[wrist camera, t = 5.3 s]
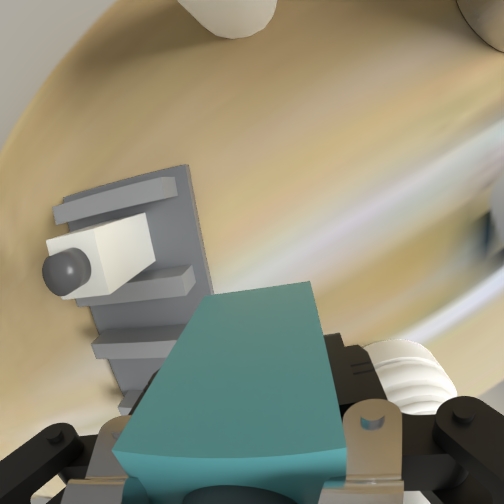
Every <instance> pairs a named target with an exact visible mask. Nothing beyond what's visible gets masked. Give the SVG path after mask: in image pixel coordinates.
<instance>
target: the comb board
mask: <svg viewBox="0 0 504 504" xmlns="http://www.w3.org/2000/svg"><path fill="white" fill-rule="evenodd" d="M63 201H64V204H61V205H58V206H54V207H53V213H54V218H55V223H56V225H59V224H62V223H66V222H68V226H69V231H70V232H73V231H76V230H79V229H82V228H85V227H88V226H92V225H95V224H98V223H101V222H105V221H109V220H113V219H118V218H122V217H126V216H131V215H135V214H140V213H145V214H146V219H147V224H148V228H149V233H150V238H151V242H152V247H153V251H154V255H155V260H156V261H155V262H153V263H152V264H150V265H149V266H148V267H146V268H145V269H144V270H142V271H141V272H140V273H138V274H137V275H135V276H134V277H133V278H131V279H130V280H129V281H127V282H126V283H125V284H123V285H122V286H121V287H119V288H118V289H117V290H115V291H114V292H113V293H111V294H110V295H102V296H93V297H84V298H75V300H76V303H77V306H78V307H84V306H90V309H91V312H92V315H93V318H94V321H95V324H96V327H97V330H98V333H99V337H98V338H97V339H96V340H94V341H93V342H92V343H91V346H92V349H93V352H94V354H95V357H96V359H108V360H109V362H110V365H111V367H112V370H113V372H114V375H115V377H116V380H117V382H118V384H119V387H120V389H121V391H122V394H123V396H124V398H123V400H122V401H121V403H120V404H119V406H118V409H119V412H120V414H121V416H123V415H128V414H129V412H130V411H131V409H132V407H133V406H134V404H135V402H136V401H137V399H138V398H139V396H140V394H141V393H142V392H143V389H144V388H145V386H146V385H148V381H149V380H150V378H151V377H152V375H153V373H155V372H156V371H157V370H159V369H160V368H161V366H162V365H163V363H164V361H165V360H166V358H167V356H168V355H169V353H170V351H171V350H172V348H173V347H174V345H175V343H176V342H177V340H178V338H179V337H180V335H181V333H182V332H183V330H184V329H185V327H186V325H187V324H188V322H189V320H190V319H191V317H192V316H193V314H194V312H195V311H196V309H197V307H198V306H199V304H200V303H201V301H202V299H203V298H204V296H207V295H214V291H213V286H212V282H211V277H210V272H209V268H208V263H207V258H206V253H205V248H204V244H203V239H202V234H201V228H200V223H199V218H198V213H197V208H196V202H195V197H194V192H193V186H192V181H191V175H190V170H189V165H186V164H185V165H180V166H176V167H172V168H167V169H163V170H159V171H155V172H151V173H147V174H143V175H139V176H135V177H132V178H128V179H124V180H120V181H117V182H113V183H110V184H106V185H103V186H99V187H96V188H92V189H89V190H86V191H82V192H79V193H76V194H73V195H70V196H66V197H63Z"/></svg>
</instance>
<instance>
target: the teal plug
mask: <svg viewBox="0 0 504 504" xmlns="http://www.w3.org/2000/svg"><path fill="white" fill-rule="evenodd" d="M112 452H113V453H114V455H115V457H116V458H117V460H118V461H119V463H120V464H121V466H122V468H123V469H124V471H125V472H126V474H127V475H128V476H130V477H138V479H139V480H140V482H141V483H142V485H143V486H144V488H145V489H146V491H147V495H148V499H149V502H150V504H318V502H319V498H320V495H321V491H322V488H323V485H324V483H325V481H326V480H329V479H330V477H338V476H345V475H346V472H347V446H346V440H345V435H344V430H343V425H342V420H341V415H340V410H339V405H338V400H337V395H336V391H335V386H334V381H333V377H332V372H331V367H330V363H329V359H328V354H327V350H326V345H325V341H324V337H323V332H322V328H321V324H320V320H319V316H318V311H317V307H316V303H315V299H314V295H313V291H312V287H311V283H310V281H307V282H301V283H294V284H287V285H280V286H273V287H266V288H259V289H252V290H245V291H238V292H230V293H223V294H215V295H207V296H204V298H203V299H202V301H201V303H200V304H199V306H198V307H197V309H196V311H195V312H194V314H193V316H192V317H191V319H190V320H189V322H188V324H187V325H186V327H185V329H184V330H183V332H182V333H181V335H180V337H179V338H178V340H177V342H176V343H175V345H174V347H173V348H172V350H171V351H170V353H169V355H168V356H167V358H166V360H165V361H164V363H163V365H162V366H161V368H160V370H159V371H158V373H157V375H156V376H155V378H154V380H153V381H152V383H151V385H150V386H149V388H148V390H147V391H146V393H145V395H144V396H143V398H142V400H141V401H140V403H139V405H138V406H137V408H136V410H135V411H134V413H133V415H132V416H131V418H130V420H129V421H128V423H127V425H126V426H125V428H124V430H123V431H122V433H121V435H120V437H119V438H118V440H117V442H116V443H115V445H114V447H113V448H112Z"/></svg>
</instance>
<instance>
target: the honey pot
mask: <svg viewBox="0 0 504 504" xmlns="http://www.w3.org/2000/svg"><path fill="white" fill-rule="evenodd" d="M363 349H365V350H366V351H367V352H368V354H369V356H370V358H371V361H372V363H373V365H374V368H375V371H376V373H377V375H378V377H379V380H380V382H381V384H382V387H383V389H384V392H385V394H386V397H387V399H388V401H390V402H392V403H394V404H395V405H397V406H398V407H399V409H400V411H401V412H403V413H406V414H411V415H431V414H436V412H437V409H438V408H439V406H440V405H441V404H442V403H444V402H445V401H447V400H449V399H451V398H454V397H457V391H456V389H455V386H454V385H453V383H452V381H451V379H450V378H449V377H448V376H447V374H446V372H445V371H444V370H443V368H442V367H441V366H440V364H439V363H438V362H437V360H436V359H435V358H434V356H433V355H432V354H431V352H430V351H429V350H427V349H426V348H425V347H423V346H422V345H420V344H419V343H415V342H412V341H409V340H396V339H390V340H385V341H381V342H376V343H372V344H370V345H368V346H365V347H363ZM403 504H431V503H430V502H429V501H428V500H427V499H426V498H425V497H424V496H423V494H422V493H421V492H420V491H404V497H403Z"/></svg>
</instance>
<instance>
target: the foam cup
mask: <svg viewBox="0 0 504 504" xmlns="http://www.w3.org/2000/svg"><path fill="white" fill-rule="evenodd" d="M177 1H178V2H179V3H180V4H181V5H182V6H183V7H184V8H185V9H186V10H187V11H188V12H189V13H190V14H191V15H192V16H193V17H194V18H195V19H196V20H197V21H198V22H199V23H200V24H201V25H202V26H204V27H205V28H206V29H207V30H209V31H210V32H212V33H213V34H214V35H216V36H220V37H225V38H230V39H236V38H243V37H249V36H251V35H253V34H255V33H257V32H259V31H260V30H262V29H264V28H265V27H266V25H267V24H268V23H269V21H270V20H271V19H272V17H273V14H274V12H275V8H276V4H277V0H177Z"/></svg>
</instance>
